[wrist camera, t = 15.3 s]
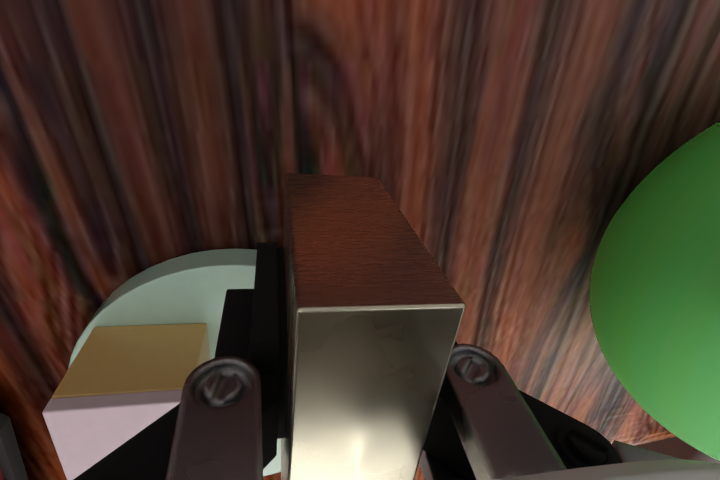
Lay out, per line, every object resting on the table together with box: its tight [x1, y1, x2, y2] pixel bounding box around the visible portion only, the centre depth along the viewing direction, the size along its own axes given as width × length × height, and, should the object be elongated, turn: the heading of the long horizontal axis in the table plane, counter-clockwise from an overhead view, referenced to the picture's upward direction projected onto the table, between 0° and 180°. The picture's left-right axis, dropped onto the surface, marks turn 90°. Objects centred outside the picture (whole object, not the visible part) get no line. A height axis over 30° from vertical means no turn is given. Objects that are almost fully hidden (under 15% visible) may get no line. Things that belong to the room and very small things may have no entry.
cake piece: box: [42, 323, 210, 480], centre depth 17 cm, size 9×4×4 cm, turn 173°
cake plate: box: [68, 248, 281, 476], centre depth 20 cm, size 15×15×2 cm
